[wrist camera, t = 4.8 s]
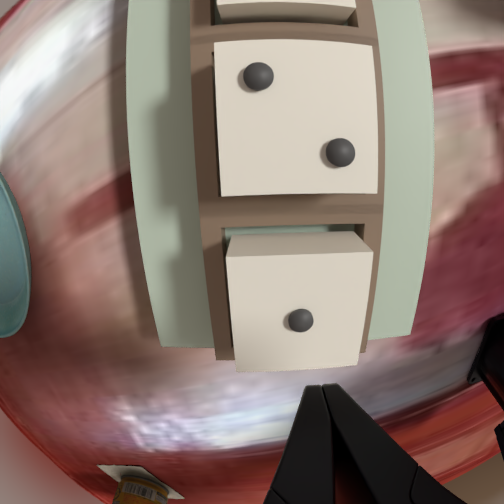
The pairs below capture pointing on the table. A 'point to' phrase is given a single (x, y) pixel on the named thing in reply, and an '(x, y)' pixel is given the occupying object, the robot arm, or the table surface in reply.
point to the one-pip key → (297, 299)
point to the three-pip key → (286, 11)
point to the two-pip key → (296, 117)
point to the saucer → (13, 264)
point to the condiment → (138, 486)
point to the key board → (274, 205)
